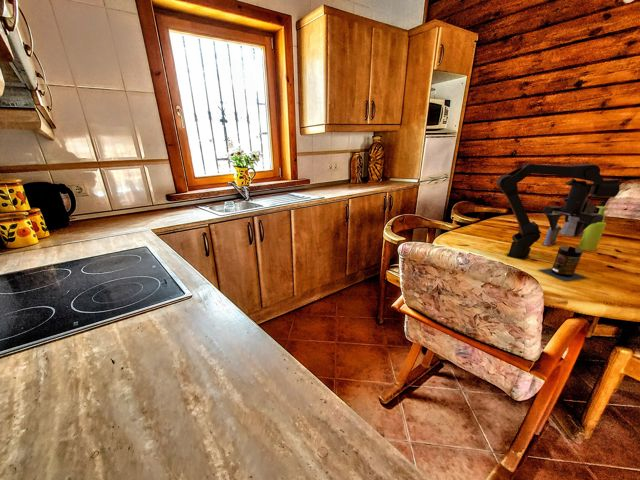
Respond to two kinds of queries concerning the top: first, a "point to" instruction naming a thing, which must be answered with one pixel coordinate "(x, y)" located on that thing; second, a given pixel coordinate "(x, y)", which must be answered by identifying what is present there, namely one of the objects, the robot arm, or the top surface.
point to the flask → (551, 236)
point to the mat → (563, 276)
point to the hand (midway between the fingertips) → (563, 233)
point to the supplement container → (566, 261)
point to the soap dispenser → (593, 233)
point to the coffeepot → (570, 226)
